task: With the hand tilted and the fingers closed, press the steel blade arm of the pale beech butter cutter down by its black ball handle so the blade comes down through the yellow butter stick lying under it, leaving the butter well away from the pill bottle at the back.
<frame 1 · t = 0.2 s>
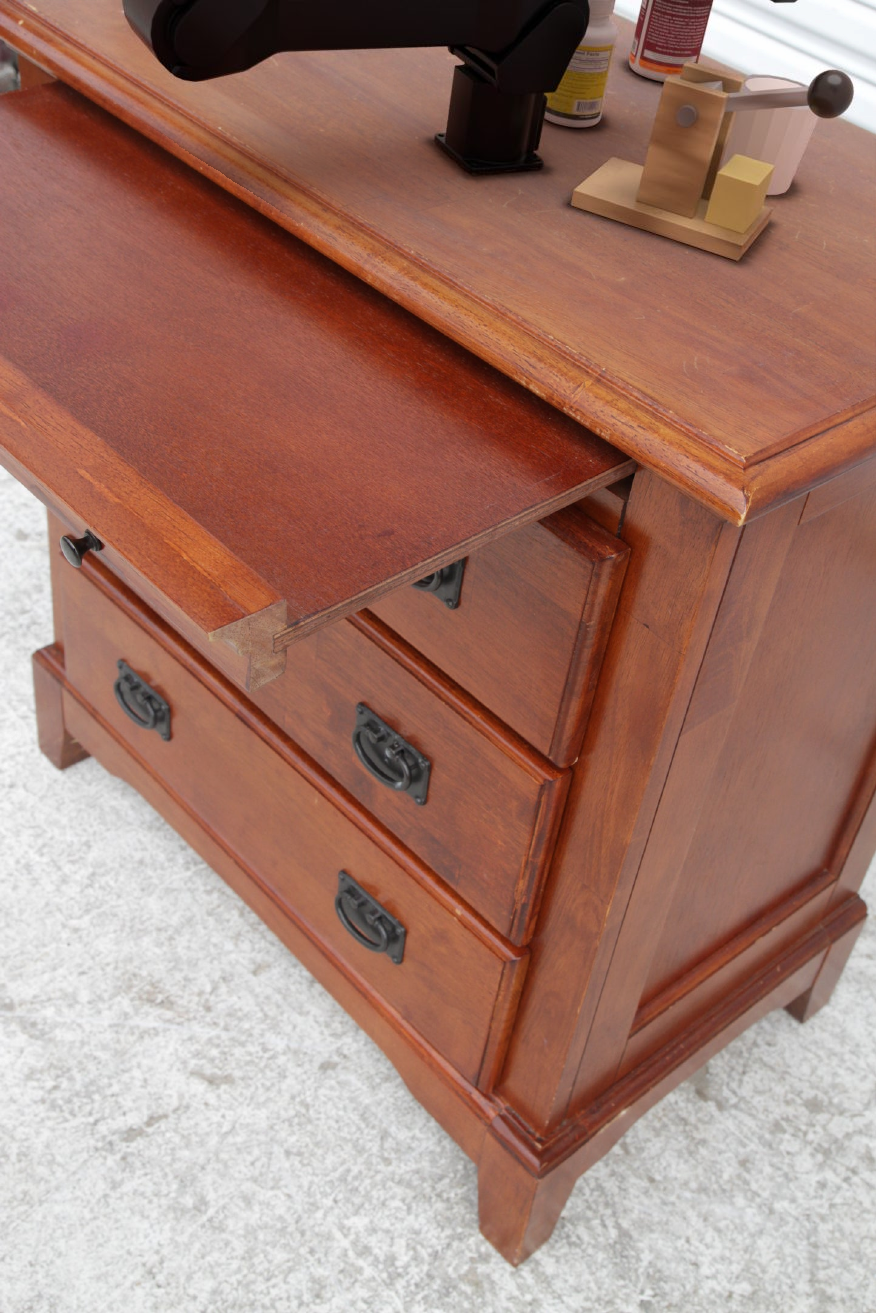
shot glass: (753, 182, 103), on the table
butter: (732, 217, 94), point 1 cm above the table, touching butter cutter
supplement bottle: (567, 118, 108), on the table
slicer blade: (763, 99, 88), point 10 cm above the table, hinge at 20.0°
butter cutter: (670, 214, 96), on the table
pill bottle: (660, 74, 119), on the table
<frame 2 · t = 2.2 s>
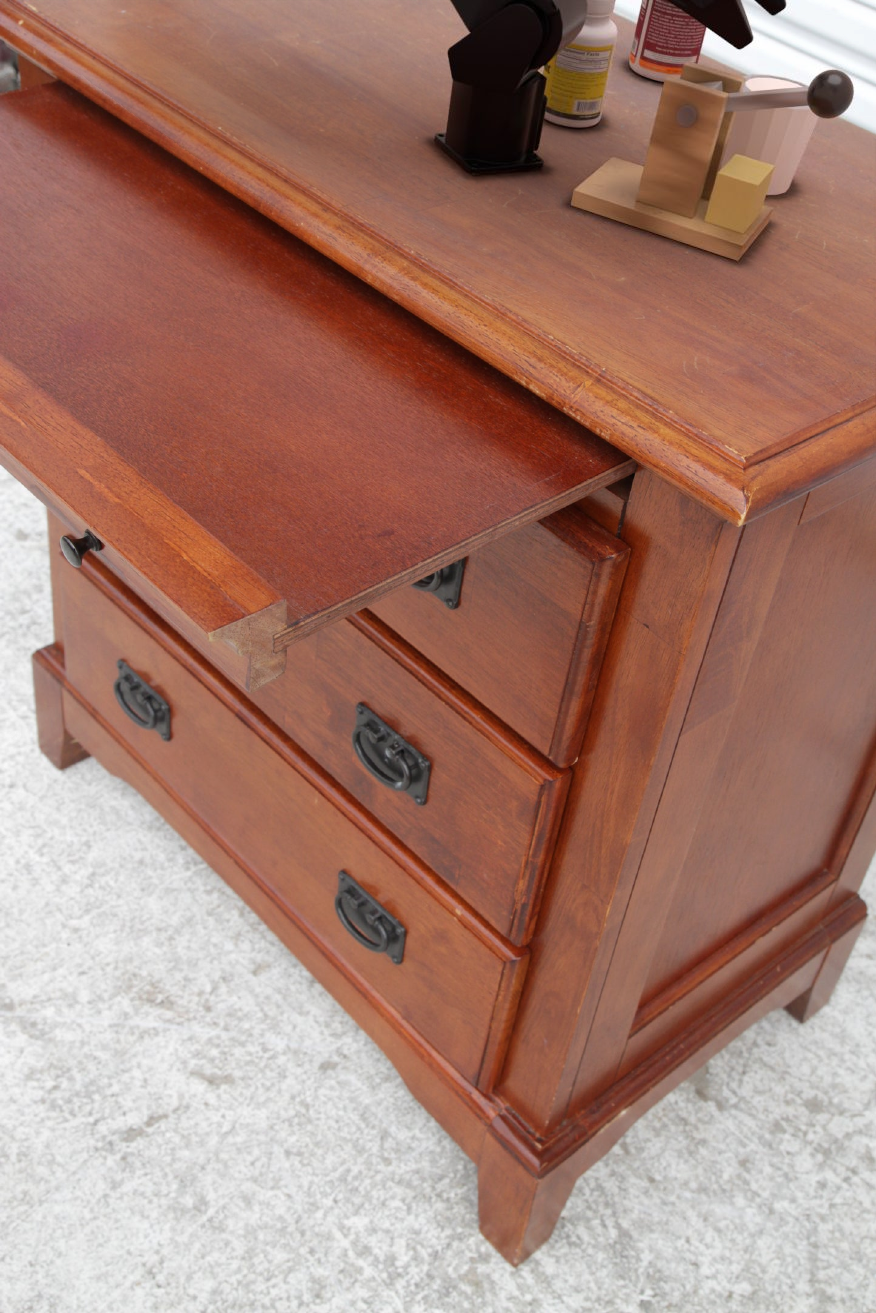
hand: (764, 28, 86), 14 cm above the table, tool tilted 45°, fingers open, 9 cm apart
nothing on the table moved.
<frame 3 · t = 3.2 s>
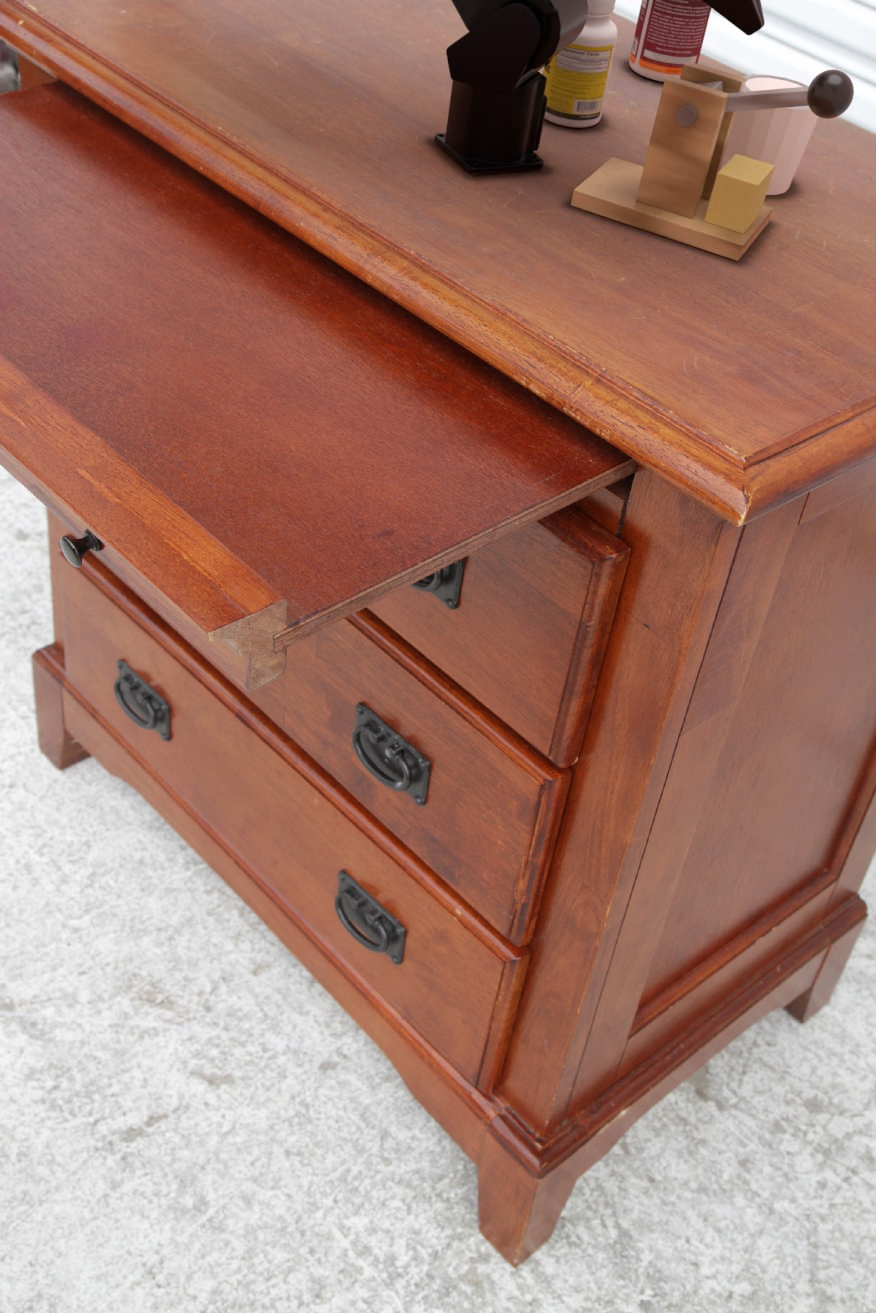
hand: (756, 31, 86), 14 cm above the table, tool tilted 45°, fingers closed
nothing on the table moved.
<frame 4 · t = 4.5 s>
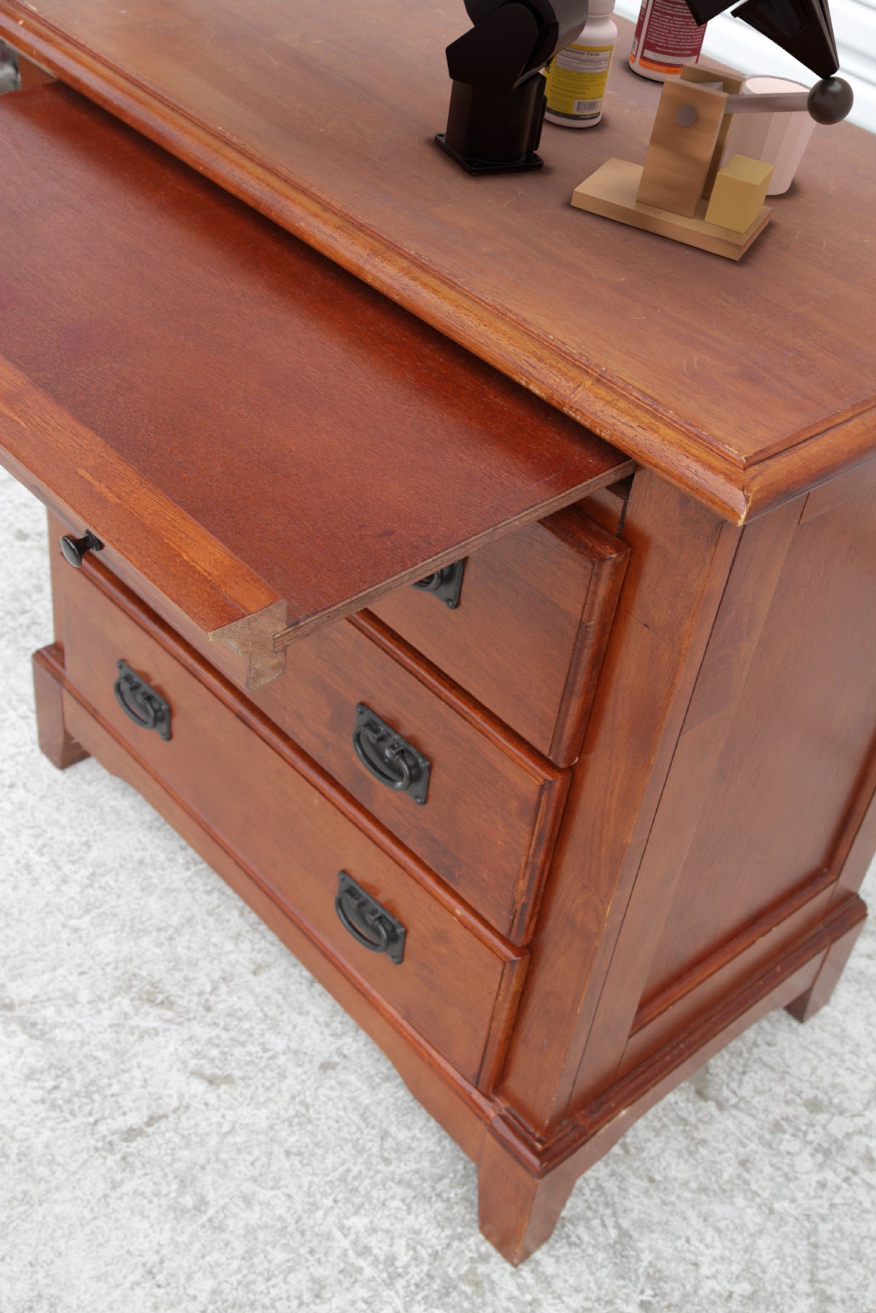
hand: (831, 74, 85), 12 cm above the table, tool tilted 45°, fingers closed, pressing on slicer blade
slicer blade: (763, 103, 88), point 9 cm above the table, hinge at 17.3°, touching gripper
everything else where it was.
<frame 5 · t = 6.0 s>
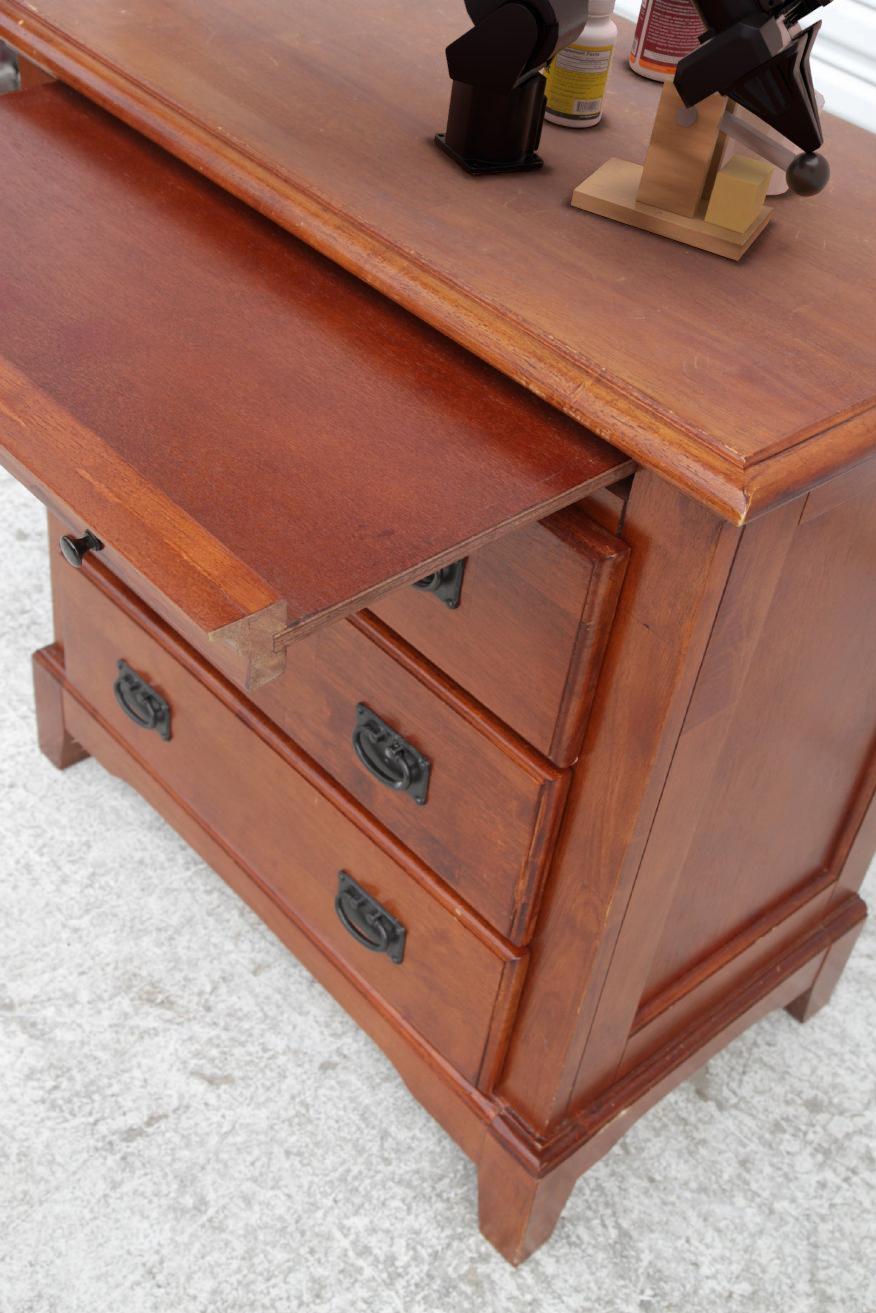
hand: (816, 149, 88), 7 cm above the table, tool tilted 45°, fingers closed, pressing on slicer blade
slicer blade: (753, 139, 90), point 7 cm above the table, hinge at -14.8°, touching gripper
everything else where it was.
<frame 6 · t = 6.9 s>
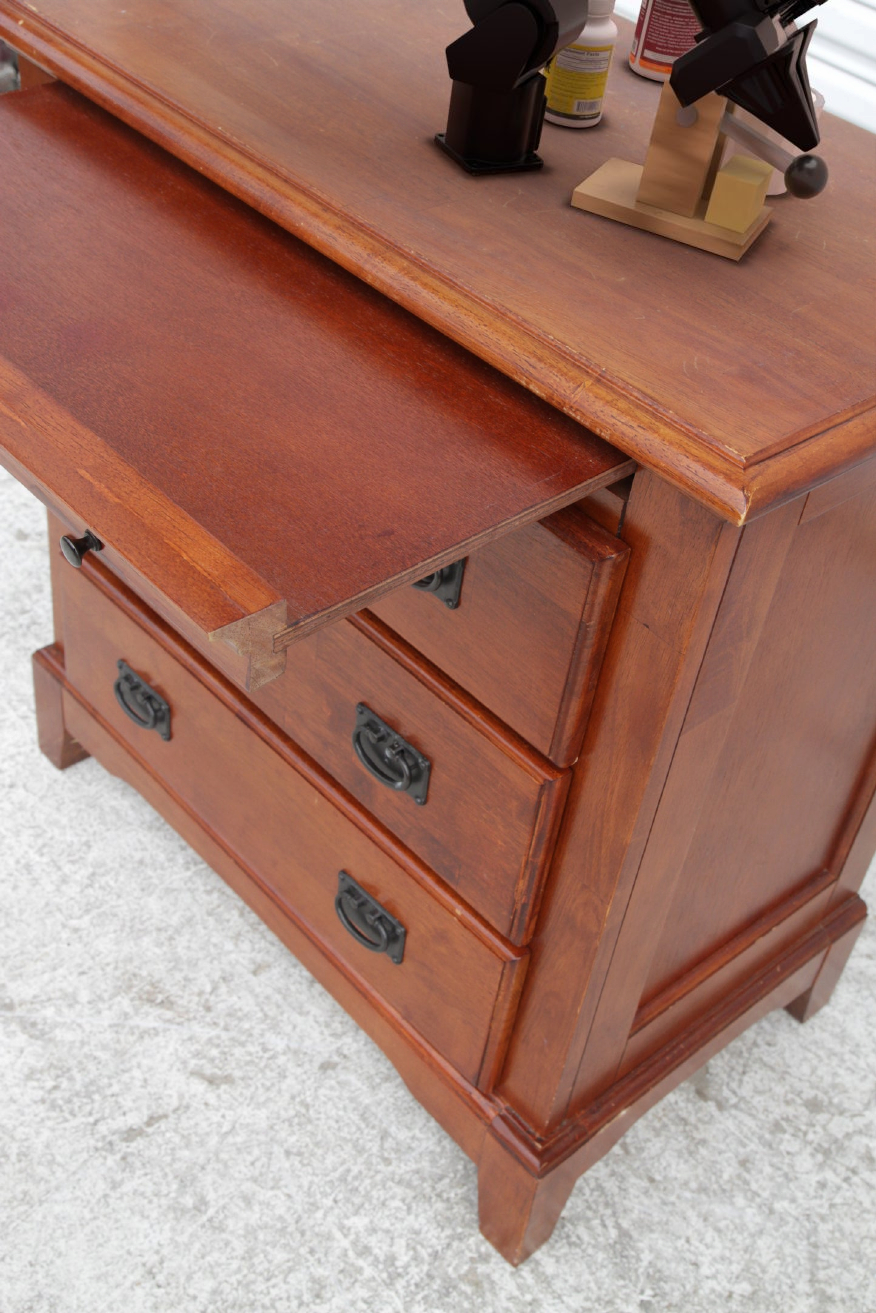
hand: (812, 147, 88), 7 cm above the table, tool tilted 45°, fingers closed
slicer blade: (753, 141, 90), point 7 cm above the table, hinge at -16.0°
everything else where it was.
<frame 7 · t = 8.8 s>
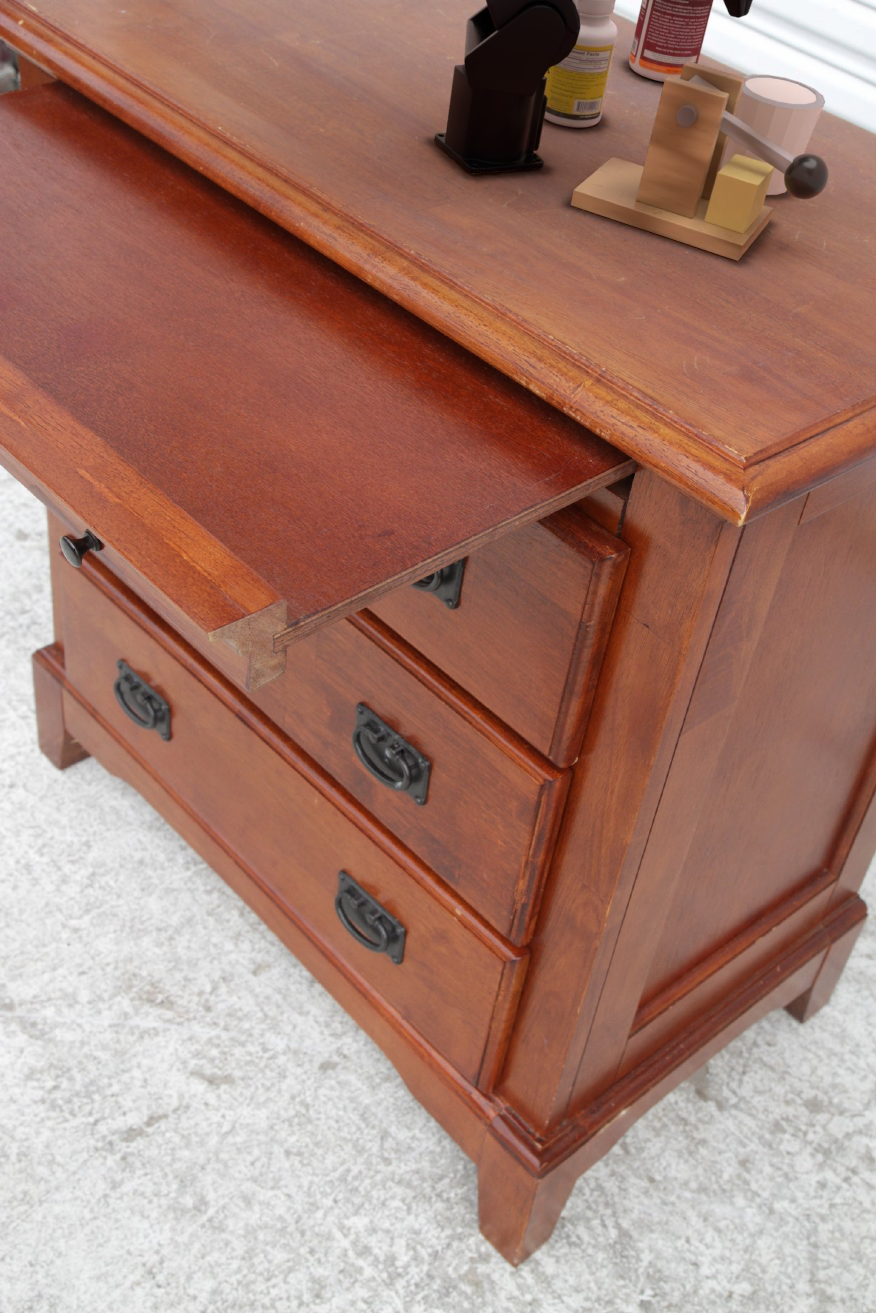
hand: (738, 16, 92), 12 cm above the table, tool pointing down, fingers closed
nothing on the table moved.
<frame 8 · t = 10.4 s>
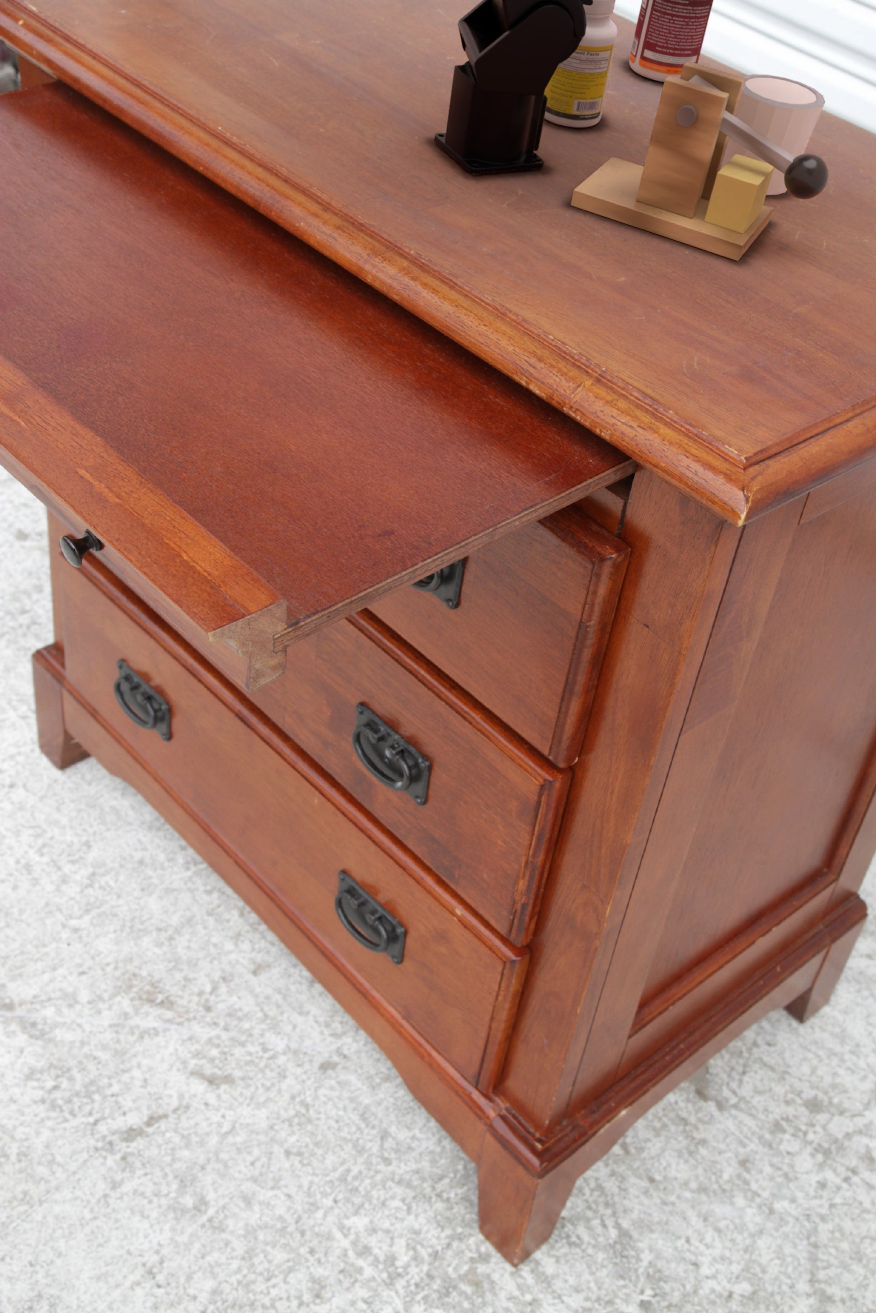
nothing on the table moved.
at the end: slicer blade at -16° (first picture: +20°); butter moved 0.0 cm from its start; butter touching butter cutter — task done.
